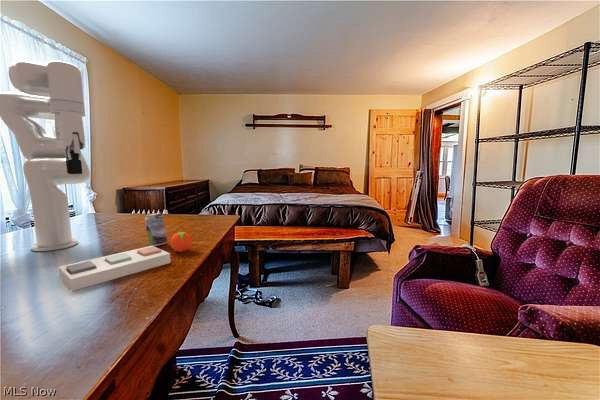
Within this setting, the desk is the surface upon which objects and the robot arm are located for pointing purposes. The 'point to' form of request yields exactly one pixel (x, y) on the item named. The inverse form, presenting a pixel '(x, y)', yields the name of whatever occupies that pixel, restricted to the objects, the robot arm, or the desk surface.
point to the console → (112, 268)
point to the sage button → (117, 258)
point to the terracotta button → (148, 251)
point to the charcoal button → (80, 267)
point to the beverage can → (155, 229)
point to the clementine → (181, 241)
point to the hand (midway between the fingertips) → (74, 173)
